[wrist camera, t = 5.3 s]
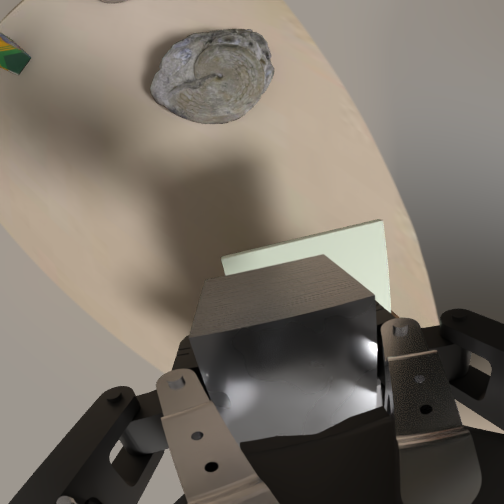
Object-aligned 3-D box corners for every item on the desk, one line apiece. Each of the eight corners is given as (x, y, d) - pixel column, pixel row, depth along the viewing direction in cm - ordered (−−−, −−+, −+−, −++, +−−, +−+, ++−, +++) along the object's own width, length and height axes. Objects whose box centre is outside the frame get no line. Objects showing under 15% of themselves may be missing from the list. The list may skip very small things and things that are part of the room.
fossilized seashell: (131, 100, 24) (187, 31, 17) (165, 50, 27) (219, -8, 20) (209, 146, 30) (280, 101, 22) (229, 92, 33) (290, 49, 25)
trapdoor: (208, 253, 21) (203, 267, 17) (378, 213, 21) (402, 219, 17) (261, 429, 25) (265, 456, 21) (387, 392, 25) (402, 414, 21)
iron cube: (205, 279, 12) (188, 337, 7) (323, 253, 12) (375, 294, 8) (233, 377, 13) (234, 456, 9) (335, 353, 13) (375, 421, 9)
